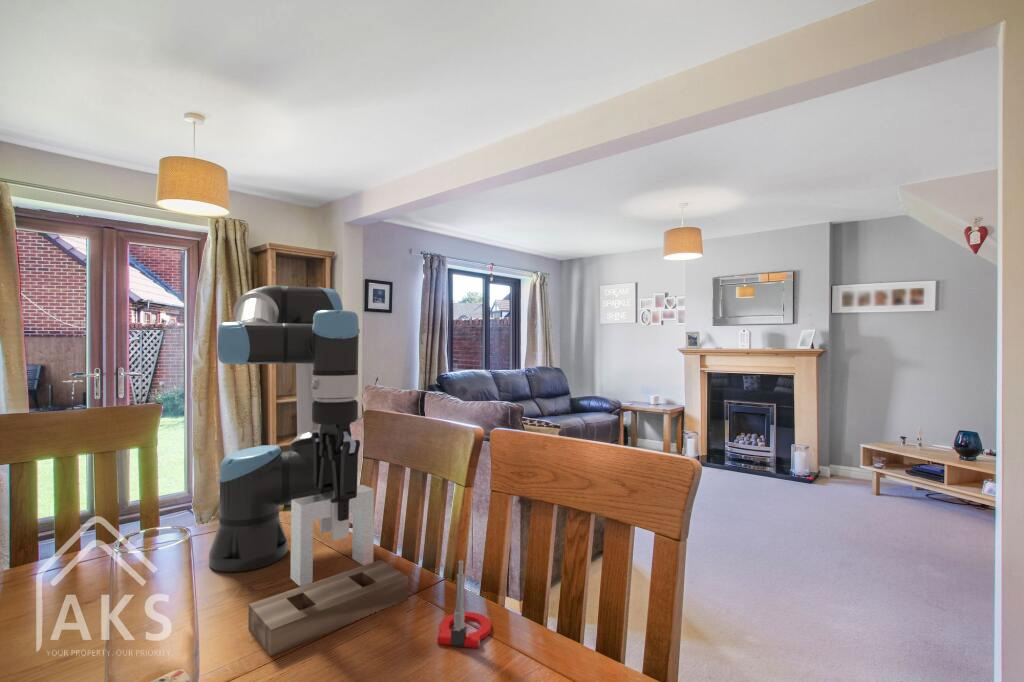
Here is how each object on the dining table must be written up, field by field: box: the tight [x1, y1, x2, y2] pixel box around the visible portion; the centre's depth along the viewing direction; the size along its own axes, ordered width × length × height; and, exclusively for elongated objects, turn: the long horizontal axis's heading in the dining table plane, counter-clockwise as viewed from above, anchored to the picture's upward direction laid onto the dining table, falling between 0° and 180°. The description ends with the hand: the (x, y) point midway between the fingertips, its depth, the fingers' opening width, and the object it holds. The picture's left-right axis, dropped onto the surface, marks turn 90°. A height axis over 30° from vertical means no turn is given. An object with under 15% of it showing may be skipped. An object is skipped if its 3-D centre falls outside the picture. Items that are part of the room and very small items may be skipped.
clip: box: [289, 484, 375, 587], centre depth 85 cm, size 4×13×13 cm, turn 135°
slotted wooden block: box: [247, 559, 409, 657], centre depth 86 cm, size 10×24×4 cm, turn 135°
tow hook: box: [436, 560, 492, 649], centre depth 81 cm, size 8×13×9 cm
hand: (334, 534), depth 85 cm, fingers closed on clip, 4 cm apart
